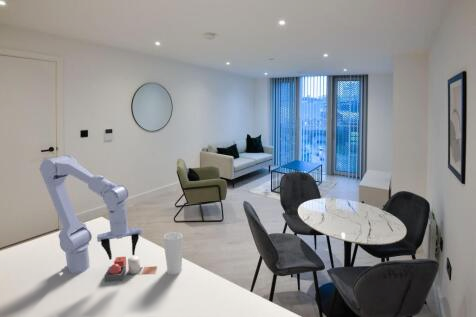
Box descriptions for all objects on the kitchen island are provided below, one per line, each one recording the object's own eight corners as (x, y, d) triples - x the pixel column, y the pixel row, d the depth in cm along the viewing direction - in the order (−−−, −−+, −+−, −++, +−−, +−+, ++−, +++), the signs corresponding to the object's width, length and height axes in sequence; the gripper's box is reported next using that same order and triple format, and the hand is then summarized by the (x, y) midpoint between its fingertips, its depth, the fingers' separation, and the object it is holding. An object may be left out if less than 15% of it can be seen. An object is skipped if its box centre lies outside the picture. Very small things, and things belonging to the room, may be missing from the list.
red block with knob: (114, 269, 113) (113, 260, 112) (117, 265, 117) (116, 256, 116) (124, 269, 114) (123, 260, 113) (126, 264, 117) (125, 255, 116)
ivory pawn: (127, 270, 112) (126, 258, 111) (137, 266, 115) (136, 254, 114) (131, 275, 110) (130, 262, 109) (142, 271, 112) (141, 259, 111)
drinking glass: (165, 279, 109) (164, 240, 106) (165, 269, 115) (163, 232, 112) (184, 276, 111) (183, 238, 108) (182, 266, 117) (181, 230, 114)
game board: (104, 284, 106) (104, 281, 106) (114, 265, 117) (114, 263, 117) (153, 281, 107) (153, 279, 107) (158, 263, 119) (158, 261, 119)
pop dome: (108, 276, 107) (107, 267, 106) (111, 270, 110) (111, 261, 110) (119, 275, 107) (118, 267, 106) (122, 269, 111) (121, 261, 110)
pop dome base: (104, 281, 106) (104, 275, 105) (110, 272, 112) (109, 266, 111) (121, 280, 106) (121, 274, 106) (126, 271, 112) (125, 265, 112)
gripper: (94, 228, 99) (99, 265, 101) (140, 221, 104) (143, 257, 106) (96, 220, 105) (100, 256, 108) (139, 214, 110) (142, 248, 113)
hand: (122, 256), depth 107 cm, fingers open, 7 cm apart
